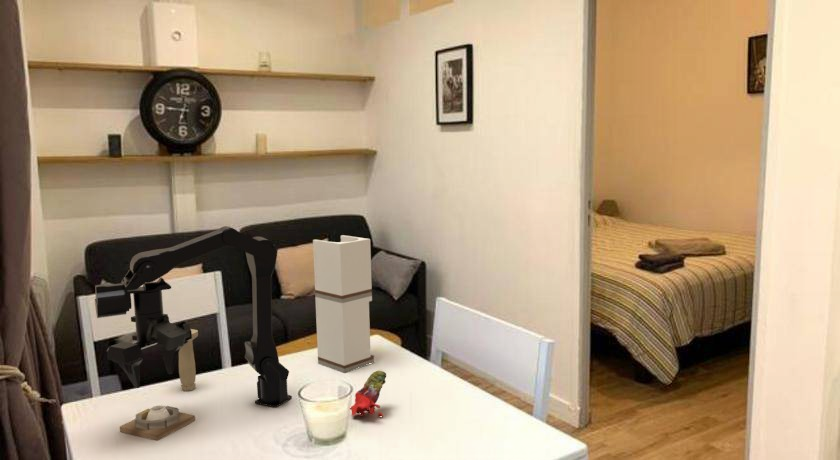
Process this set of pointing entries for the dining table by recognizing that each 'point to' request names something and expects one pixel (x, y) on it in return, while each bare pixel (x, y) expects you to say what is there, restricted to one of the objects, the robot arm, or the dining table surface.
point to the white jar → (157, 413)
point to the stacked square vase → (343, 302)
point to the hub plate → (158, 431)
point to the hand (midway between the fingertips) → (154, 380)
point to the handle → (187, 364)
